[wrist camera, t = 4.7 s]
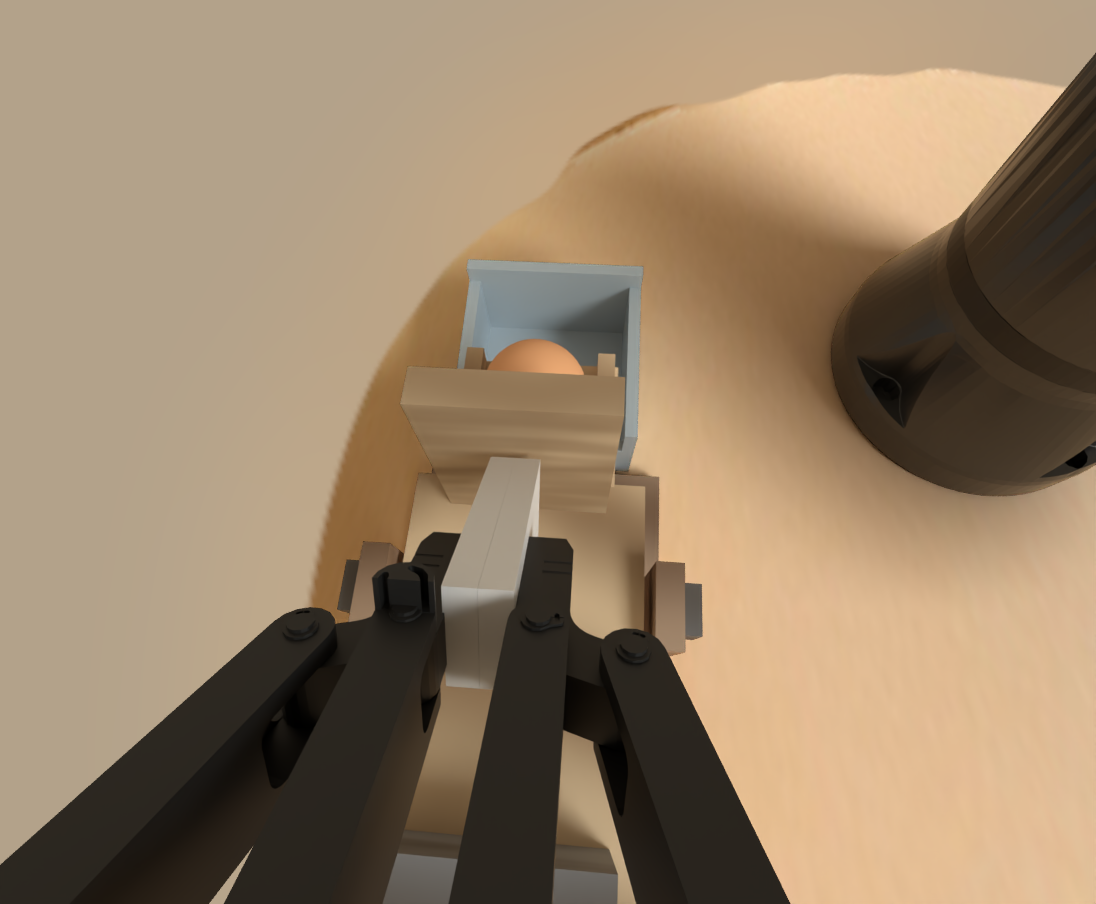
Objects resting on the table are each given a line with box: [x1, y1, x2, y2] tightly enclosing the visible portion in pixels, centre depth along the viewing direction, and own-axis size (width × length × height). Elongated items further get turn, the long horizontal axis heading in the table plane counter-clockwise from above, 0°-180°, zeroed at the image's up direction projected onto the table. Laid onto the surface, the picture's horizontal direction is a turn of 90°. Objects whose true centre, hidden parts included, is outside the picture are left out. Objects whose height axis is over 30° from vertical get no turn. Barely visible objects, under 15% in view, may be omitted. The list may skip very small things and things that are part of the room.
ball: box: [487, 339, 584, 375], centre depth 23 cm, size 4×4×4 cm
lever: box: [383, 347, 645, 904], centre depth 18 cm, size 22×9×9 cm, turn 175°
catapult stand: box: [337, 469, 702, 656], centre depth 26 cm, size 15×13×10 cm
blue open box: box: [457, 259, 643, 471], centre depth 33 cm, size 9×9×6 cm
